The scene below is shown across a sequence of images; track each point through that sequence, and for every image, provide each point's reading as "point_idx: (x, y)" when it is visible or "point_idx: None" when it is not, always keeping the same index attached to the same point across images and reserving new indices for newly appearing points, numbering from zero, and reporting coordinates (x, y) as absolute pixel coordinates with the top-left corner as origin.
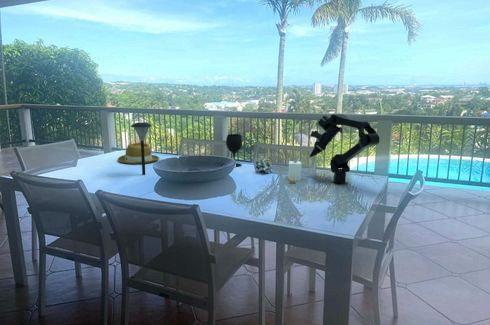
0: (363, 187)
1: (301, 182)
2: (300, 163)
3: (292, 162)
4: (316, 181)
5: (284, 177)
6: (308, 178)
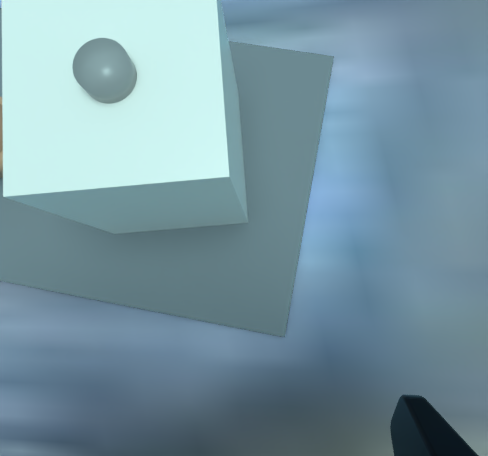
0: None
1: (46, 241)
2: (42, 176)
3: (109, 31)
4: (143, 413)
5: (233, 52)
6: (239, 322)
